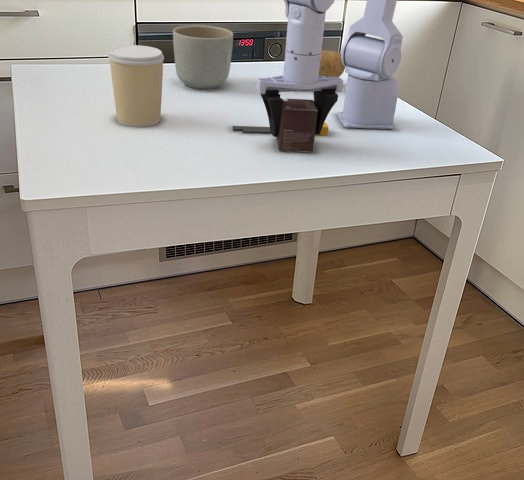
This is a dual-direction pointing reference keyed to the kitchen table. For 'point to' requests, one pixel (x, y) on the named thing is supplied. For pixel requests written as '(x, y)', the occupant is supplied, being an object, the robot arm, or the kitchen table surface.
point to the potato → (331, 64)
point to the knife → (267, 129)
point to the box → (297, 125)
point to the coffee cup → (137, 84)
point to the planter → (202, 55)
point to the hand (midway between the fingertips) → (295, 133)
